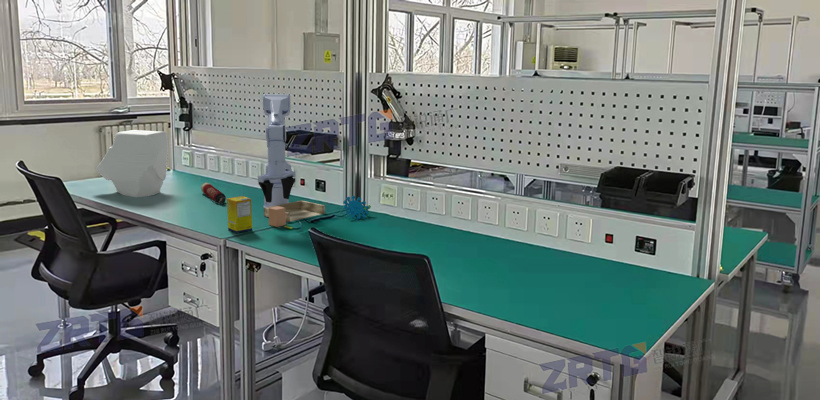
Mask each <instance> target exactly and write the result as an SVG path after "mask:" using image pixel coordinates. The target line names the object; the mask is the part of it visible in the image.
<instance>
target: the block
mask: <svg viewBox="0 0 820 400" xmlns="http://www.w3.org/2000/svg"><path fill="white" fill-rule="evenodd" d="M286 223H287V222H286V212H285V208H284V207H279V206H276V207H271V208H269V217H268V226H272V227H274V228H275V227H277V228H278V227H283V226H286V225H287V224H286Z"/></svg>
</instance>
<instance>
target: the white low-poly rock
mask: <svg viewBox="0 0 820 400" xmlns="http://www.w3.org/2000/svg"><path fill="white" fill-rule="evenodd" d="M168 157H169V138H168V134H167V132H166V131H162V130H161V131H160V130H157V131H156V130H144V129H143V130H141V129H131V130H123V131H118V132H116V133H115V136H114V140H113V144H112V145H111V146H109V147H108V149H107V152H105V155H104V156H103V158H102V160H100V162H99V163H98V165H97V166H96V167H95V169H96V172H98V174H99V175H101V177H103V179H105V180H106V181H111V182H112V185H114V188H115V189H116V191H117V193H118V194H120V195H122V196H126V197H131V198H143V197H150V196H154V195H158V194H159V193H161V188H162V186H163V183H164V181H165V180H166V177H167V165H168V160H169V158H168Z"/></svg>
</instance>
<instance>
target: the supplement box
mask: <svg viewBox="0 0 820 400" xmlns="http://www.w3.org/2000/svg"><path fill="white" fill-rule="evenodd" d="M226 208H227V227H228V228H227V229H228V231H230V232H232V233H234V234H235V233H236V234H240V233H245V232H249V231H250V232H251V231H253V215H252V214H253V212H252V211H253V210H252V198H249V197H247V196H244V195H240V196H235V197H229V198H228V197H227V198H226Z"/></svg>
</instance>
